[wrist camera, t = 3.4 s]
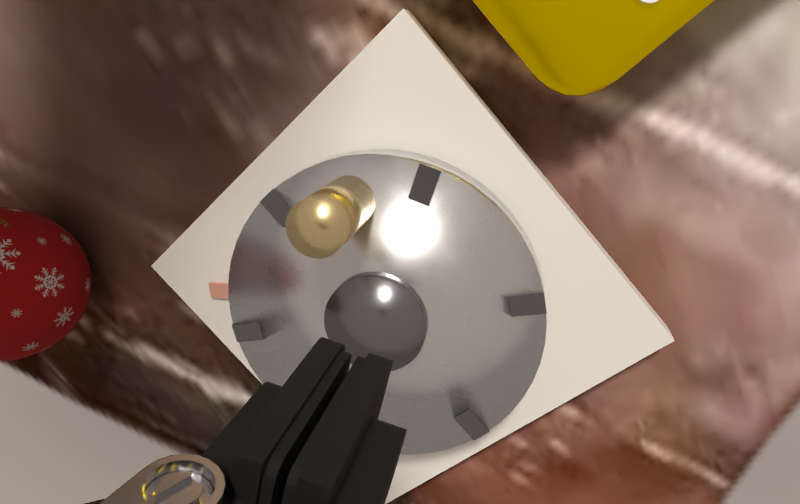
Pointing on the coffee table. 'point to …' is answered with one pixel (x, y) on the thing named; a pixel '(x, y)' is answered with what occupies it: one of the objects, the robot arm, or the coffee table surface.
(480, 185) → the rotary dial
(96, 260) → the coffee table surface
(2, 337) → the christmas ornament
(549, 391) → the base plate
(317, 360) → the robot arm
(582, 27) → the element tile
